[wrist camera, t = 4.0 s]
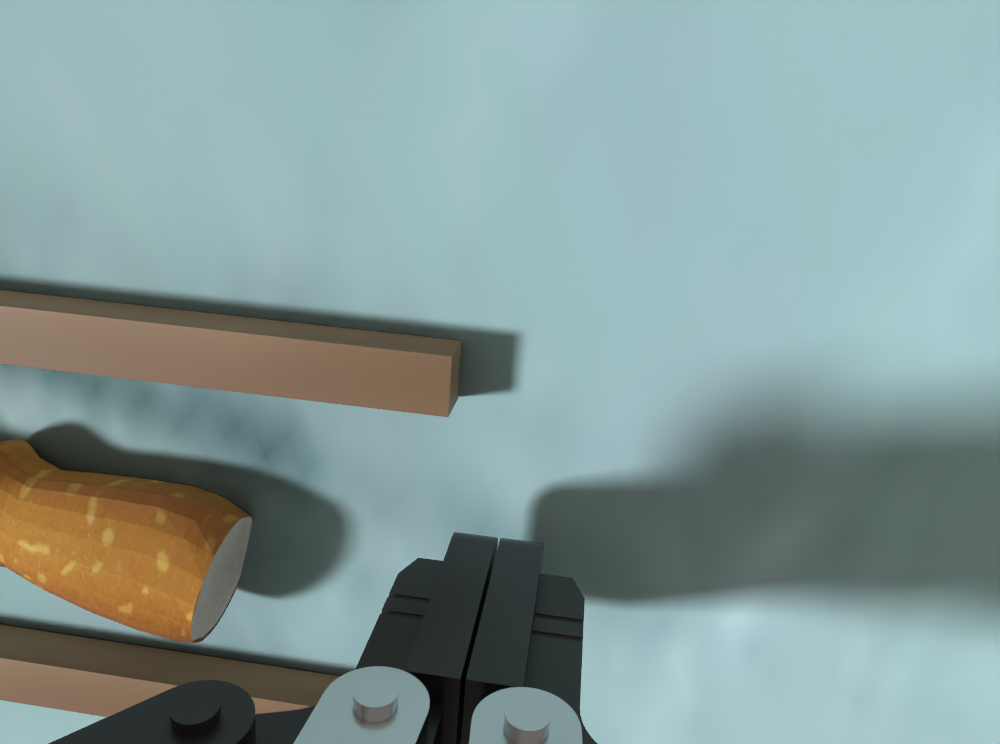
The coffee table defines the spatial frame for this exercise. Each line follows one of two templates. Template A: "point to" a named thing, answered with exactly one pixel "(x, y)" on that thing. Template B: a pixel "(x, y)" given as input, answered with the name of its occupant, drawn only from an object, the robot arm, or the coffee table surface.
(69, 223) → the coffee table surface
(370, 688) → the robot arm
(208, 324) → the holder
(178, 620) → the chisel
